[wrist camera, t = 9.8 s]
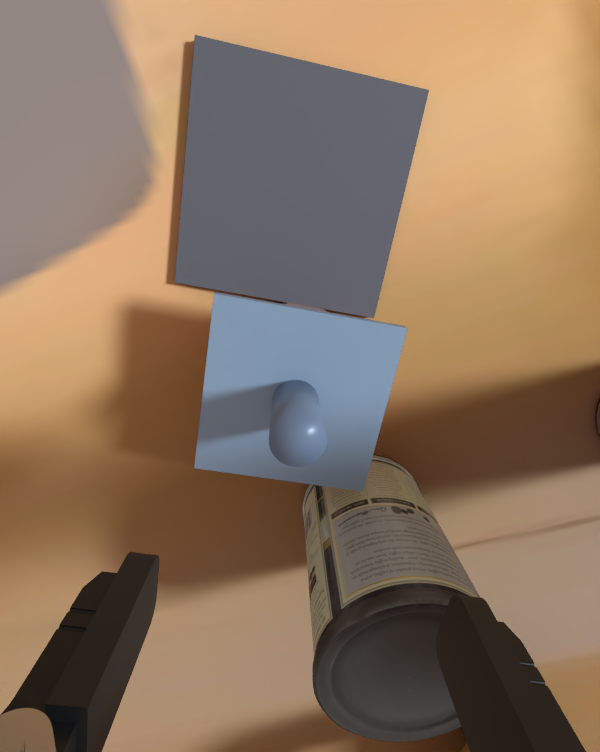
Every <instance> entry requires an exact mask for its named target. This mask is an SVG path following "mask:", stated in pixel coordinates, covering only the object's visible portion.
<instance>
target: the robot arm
mask: <svg viewBox="0 0 600 752" xmlns="http://www.w3.org/2000/svg"><path fill="white" fill-rule="evenodd" d="M596 420H597V428H598V432H599V434H600V403H599V406H598V410H597V419H596ZM158 572H159V556H158V555H150V554H142V553H134V552H130V553H128V555H127V556H126V558H125V560H124V562H123V563H122V565H121V567H120V569H119V571H118V572H117V573H110V572H101V573H100V574H99V575H97V576H96V577H95V578H94V579H93V580H91V581H90V582H89V583H88V584H87V585H86V586H84V587H83V588H82V590H81V592H80V593H79V595H78V596H77V598H76V600H75V601H74V603H73V604H72V606H71V608H70V611H69V612H67V614H66V616H65V617H64V619H63V620H62V622H61V624H60V626H59V629H57V630H56V632H55V633H54V635H53V636H52V638H51V640H50V641H49V643H48V644H47V646H46V648H45V649H44V651H43V652H42V654H41V656H40V657H39V659H38V660H37V662H36V664H35V665H34V667H33V668H32V670H31V671H30V673H29V675H28V676H27V678H26V679H25V681H24V683H23V684H22V686H21V687H20V689H19V691H18V692H17V694H16V695H15V697H14V699H13V700H12V701H11V703H10V704H9V706H8V707H7V708H6V709H5V710H4V711H3V713H2V714H1V715H0V752H102V749H103V747H104V744H105V741H106V739H107V736H108V734H109V731H110V728H111V726H112V723H113V721H114V718H115V715H116V713H117V710H118V708H119V705H120V702H121V700H122V697H123V694H124V692H125V689H126V687H127V684H128V681H129V679H130V676H131V674H132V671H133V668H134V666H135V663H136V661H137V658H138V655H139V653H140V650H141V648H142V645H143V642H144V640H145V637H146V635H147V632H148V629H149V627H150V624H151V621H152V617H153V613H154V609H155V604H156V596H157V584H158ZM436 653H437V658H438V662H439V665H440V668H441V671H442V673H443V676H444V679H445V682H446V685H447V688H448V690H449V693H450V696H451V699H452V702H453V705H454V708H455V710H456V713H457V716H458V719H459V722H460V725H461V727H462V730H463V733H464V736H465V739H466V742H467V744H468V747H469V750H470V752H586V751H585V749H584V748H583V746H582V744H581V742H580V741H579V739H578V737H577V736H576V734H575V732H574V731H573V729H572V727H571V725H570V724H569V722H568V720H567V719H566V717H565V715H564V713H563V712H562V710H561V708H560V707H559V705H558V703H557V701H556V700H555V698H554V696H553V695H552V693H551V691H550V689H549V688H548V686H546V685H545V681H544V679H543V677H542V676H541V674H540V672H539V671H538V669H537V668H535V666H534V662H533V660H532V659H531V657H530V655H529V653H528V652H527V650H526V648H525V647H524V645H523V643H522V642H521V640H520V639H519V638H518V637H517V636H516V635H515V634H514V633H513V632H512V631H511V630H510V629H509V628H508V627H507V625H506V624H505V623H504V622H497V620H496V618H495V616H494V615H493V613H492V611H491V609H490V607H489V605H488V604H487V602H486V601H485V600H484V599H483V598H479V597H471V596H463V595H453V596H452V597H451V599H450V601H449V604H448V606H447V609H446V612H445V614H444V617H443V620H442V622H441V625H440V628H439V630H438V633H437V637H436Z"/></svg>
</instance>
